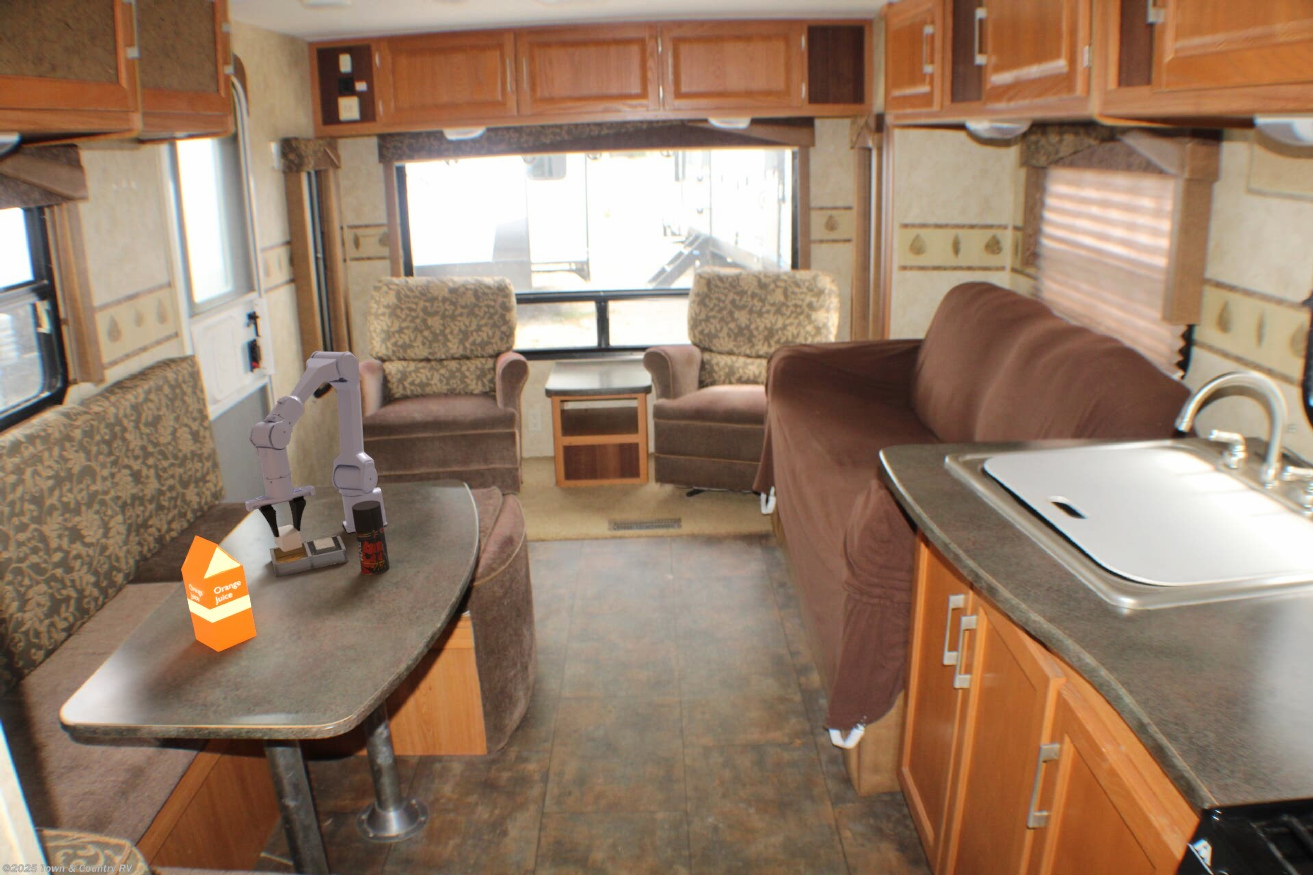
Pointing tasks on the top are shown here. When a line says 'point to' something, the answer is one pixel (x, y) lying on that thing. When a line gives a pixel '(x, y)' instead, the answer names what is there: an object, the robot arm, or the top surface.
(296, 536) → the off-white upright block
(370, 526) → the deodorant
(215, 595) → the orange juice
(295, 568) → the rack
